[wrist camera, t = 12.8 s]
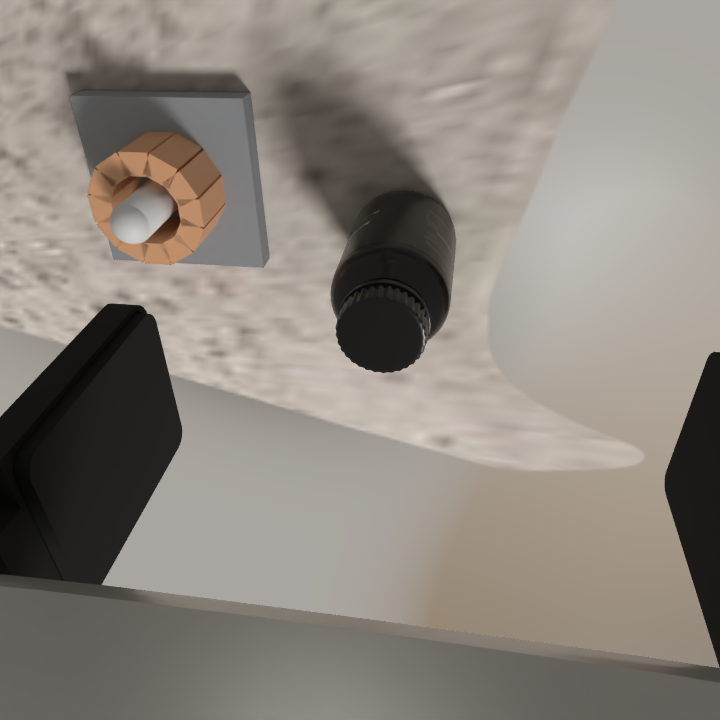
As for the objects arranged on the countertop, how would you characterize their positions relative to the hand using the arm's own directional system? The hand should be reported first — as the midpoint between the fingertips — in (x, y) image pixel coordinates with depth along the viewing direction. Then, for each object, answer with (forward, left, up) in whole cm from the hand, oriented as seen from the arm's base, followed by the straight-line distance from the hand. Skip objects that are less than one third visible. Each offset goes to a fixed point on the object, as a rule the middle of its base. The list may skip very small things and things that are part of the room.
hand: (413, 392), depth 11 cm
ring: (+8, -18, -29) cm, 35 cm away
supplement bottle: (+11, -3, -31) cm, 33 cm away
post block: (+8, -18, -30) cm, 36 cm away
